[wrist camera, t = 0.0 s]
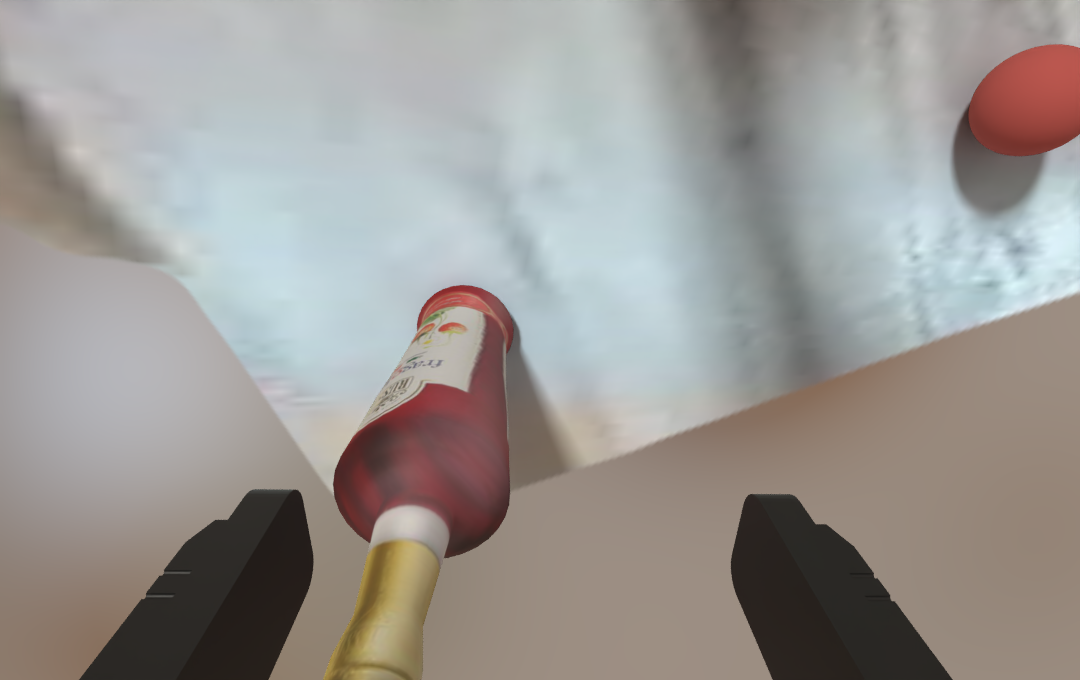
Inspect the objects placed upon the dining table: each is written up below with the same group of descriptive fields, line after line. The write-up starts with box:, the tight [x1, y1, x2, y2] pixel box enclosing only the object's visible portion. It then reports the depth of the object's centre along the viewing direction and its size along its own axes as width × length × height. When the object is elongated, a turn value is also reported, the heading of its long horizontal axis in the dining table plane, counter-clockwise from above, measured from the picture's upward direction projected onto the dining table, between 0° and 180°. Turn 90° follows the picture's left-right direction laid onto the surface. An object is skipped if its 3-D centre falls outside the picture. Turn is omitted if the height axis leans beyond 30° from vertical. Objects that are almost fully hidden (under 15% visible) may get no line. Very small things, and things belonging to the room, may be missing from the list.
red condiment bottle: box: [323, 285, 513, 680], centre depth 27 cm, size 7×7×28 cm
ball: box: [969, 44, 1080, 156], centre depth 32 cm, size 6×6×6 cm
